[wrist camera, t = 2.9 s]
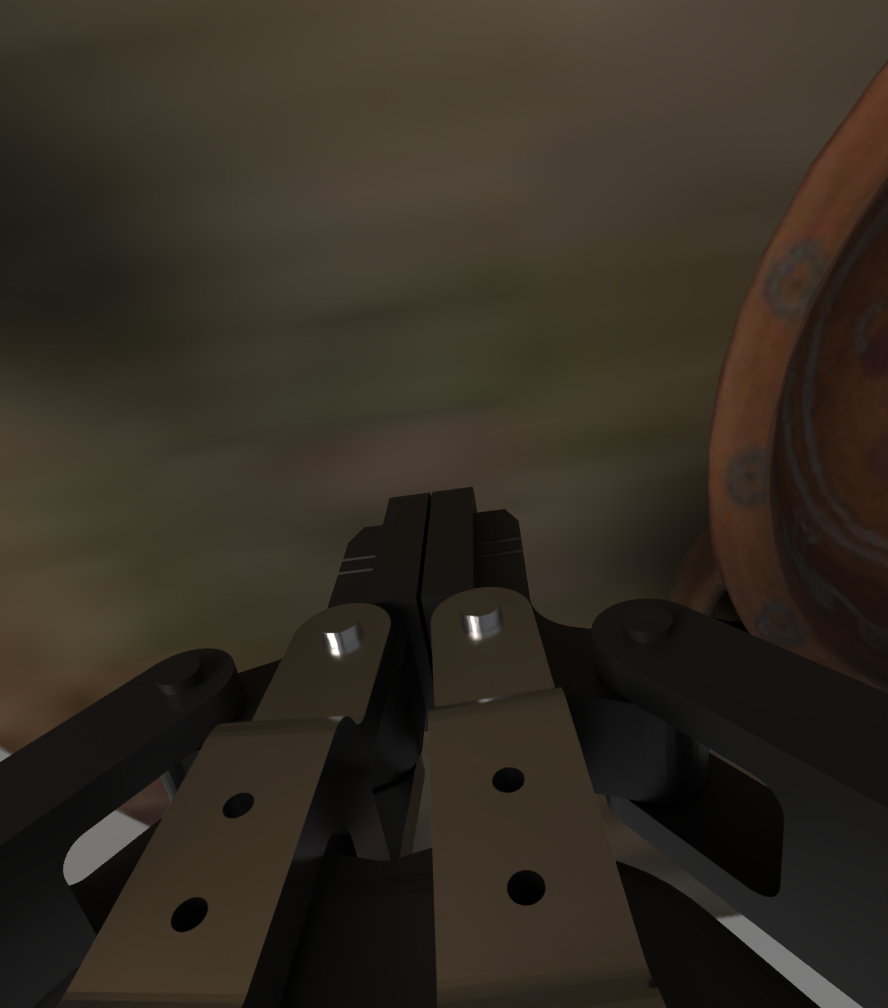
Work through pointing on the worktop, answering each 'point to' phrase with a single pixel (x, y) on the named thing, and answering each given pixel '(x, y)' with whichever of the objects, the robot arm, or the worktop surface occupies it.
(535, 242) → the worktop surface
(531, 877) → the robot arm
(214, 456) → the worktop surface
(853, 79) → the worktop surface
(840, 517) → the dish
